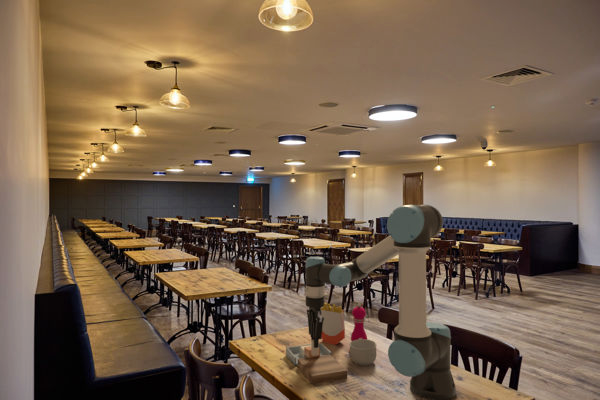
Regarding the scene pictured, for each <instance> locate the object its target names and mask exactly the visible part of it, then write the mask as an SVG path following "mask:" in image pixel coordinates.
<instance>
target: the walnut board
mask: <svg viewBox="0 0 600 400" xmlns="http://www.w3.org/2000/svg"><path fill="white" fill-rule="evenodd" d="M297 368H298V369H299V370H300V372H301V373H302V374H303V375H304V376H305V378H306V379H307V380H308V381H309V383H310V384H311V385H316V384H323V383H328V382H333V381H335V382H336V381H340V380H347V379H348V369H347V368H345V367H344V366H343V365H342V364H341V363H340V362H339V361H338V360H337V359H336V358H335V357H333V355H332V356H331V355H323V356H318V357H311V358H301V359H298V366H297Z"/></svg>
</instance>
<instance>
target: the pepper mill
mask: <svg viewBox="0 0 600 400" xmlns="http://www.w3.org/2000/svg"><path fill="white" fill-rule="evenodd" d="M351 311H352V312H351V313H352V317H353V322H354V328H353V331H352V333H351V334H350V335H351V336H350V340H351V341H350V342H352V341H354V340H359V338H362V339H367V340H368V336H367V333H366V331H365V326H364V324H365V320H366V318H365V317H366V315H367V312H366V309H365V308H364V307H362V304H361V303H357V304H356V307H354V308H353V309H352V310H351Z"/></svg>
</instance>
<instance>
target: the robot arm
mask: <svg viewBox="0 0 600 400" xmlns="http://www.w3.org/2000/svg"><path fill="white" fill-rule="evenodd" d="M443 224H444V220H443V216H442V213H441V212H440V211H439V210H438V209H437V208H436V207H434V206H432V205H429V204H407V205H406V204H405V205H400V206H399V207H398V206H397V207H396V208H395V209H394V210H392V212H390V214H389V216H388V218H387V222H386V230H387V232H388V236H386V237H385V238H384V239H382V240H381V241H379V242H378V243H377V244H375V245H374V246H372V247H370V248H369V249H368V250H366V251H365V252H362V253H361V254H360V255H358V256H357V257H356V258H354V259H353V260H351V261H347V262H344V263H337V264H332V263H331V264H328V263H326V261H325V258H324V257H322V256H310V257H309V256H308V257H307V258H306V259H305V288H304V291H305V295H306V296H305V306H306V307H307V308H308V309H306V315H307V325H308V327H307V328H308V335H310V341H311V342H310V344H311V355H312V356H315V355H319V343H320V342H319V341H320V340H322V338H321V336H322V327H323V321H324V317H321V308H322V307H323V306H324V303H325V295H326V294H325V293H326V292H325V291H326V290H325V285H326V284H327V285H332V286H336V287H342V288H343V287H347V285H349V284H350V283H351V282H353V281H354V282H355V281H357V280H358V281H360V280H362V279H364V278H366V277H368V275H369V274H370V273H371V272H373V271H374V270H375V269H378V268H379V267H380V266H382V265H384V264H386V263H387V262H388V261H390V260H392V259H394V258H395V257H396V256H398V324H397V326H395V327H394V329H393V330H394V333H393V336H394V337H393V338H394V340H393V341H392V342H391V343H390V345H389V346H388V349H387V357H388V360H389V363H390V364H391V366H392V367H393V368H394V370H395V371H396V372H398V373H399V374H401V375H402V376H404V377H408V378H410V380H409V387H410V390H411V392H412V393H413V394H415V395H416V396H418V397H421V398H423V399H426V400H452V399H453V398H454V397H456V392H457V390H456V389H457V388H456V387H457V386H456V383H455V381H454V380H455V379H454V378H453V375H452V371H451V340H452V336H451V329H450V328H449V327H448V326H447V325H445V324H441V323H437V322H432V321H427V252H428V251H429V250H430V249H431V247H432V239H433V238H434V237H437V235H439V233H441V230H442V229H443V226H444V225H443Z"/></svg>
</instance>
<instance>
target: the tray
mask: <svg viewBox="0 0 600 400" xmlns="http://www.w3.org/2000/svg"><path fill="white" fill-rule="evenodd" d="M309 345H311V343H309V344H302V345H294V346H293V345H292V346H286V347H285V357H287V358H288V360H289V361H290V362H291V363H292V364H293V366H294V367H298V359H301V358H304V357H303V356H302V355H301V354H300V347H301V346H309ZM319 348H320V356H323V355H331V356H332V357H333V353H332V351H331V350H329V349H328V348H327V347H326V346H325V345H324V344H323V343H322V342H319Z"/></svg>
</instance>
